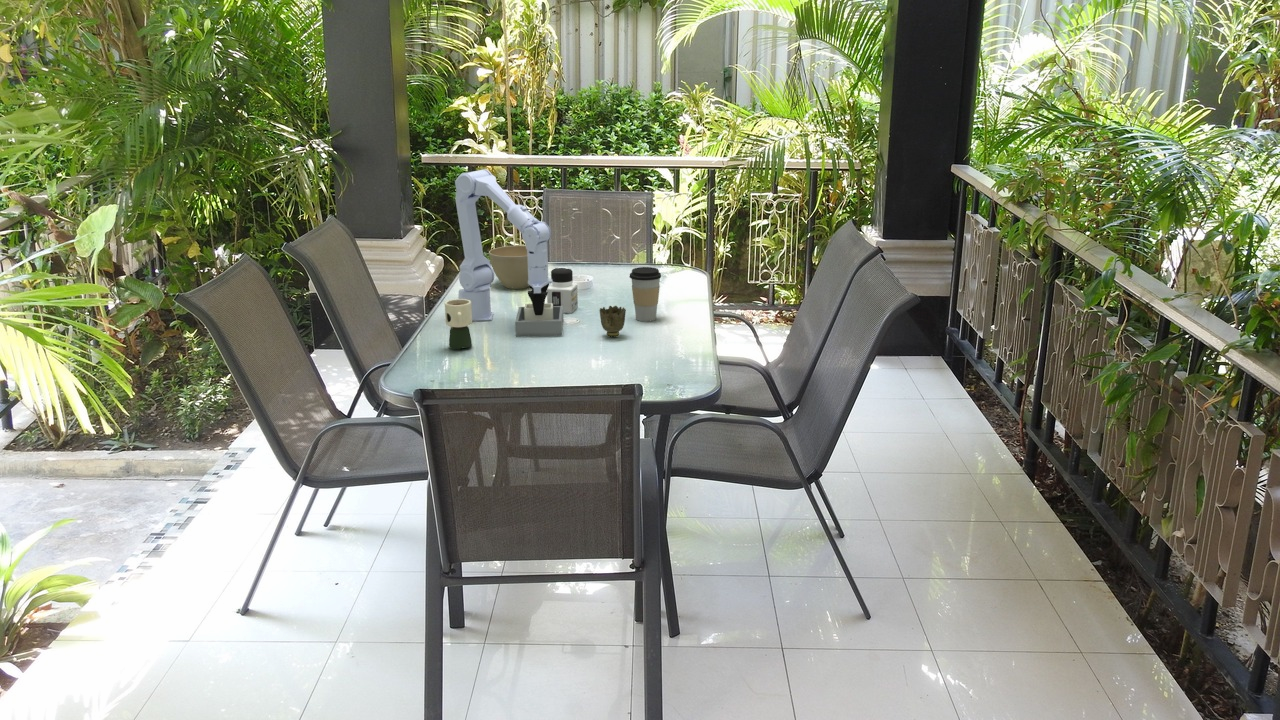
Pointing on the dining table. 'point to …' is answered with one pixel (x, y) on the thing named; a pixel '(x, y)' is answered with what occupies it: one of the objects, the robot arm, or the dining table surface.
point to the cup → (612, 320)
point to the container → (563, 290)
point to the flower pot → (510, 266)
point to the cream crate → (531, 315)
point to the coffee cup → (645, 292)
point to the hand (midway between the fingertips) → (539, 311)
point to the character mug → (459, 322)
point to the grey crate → (539, 324)
